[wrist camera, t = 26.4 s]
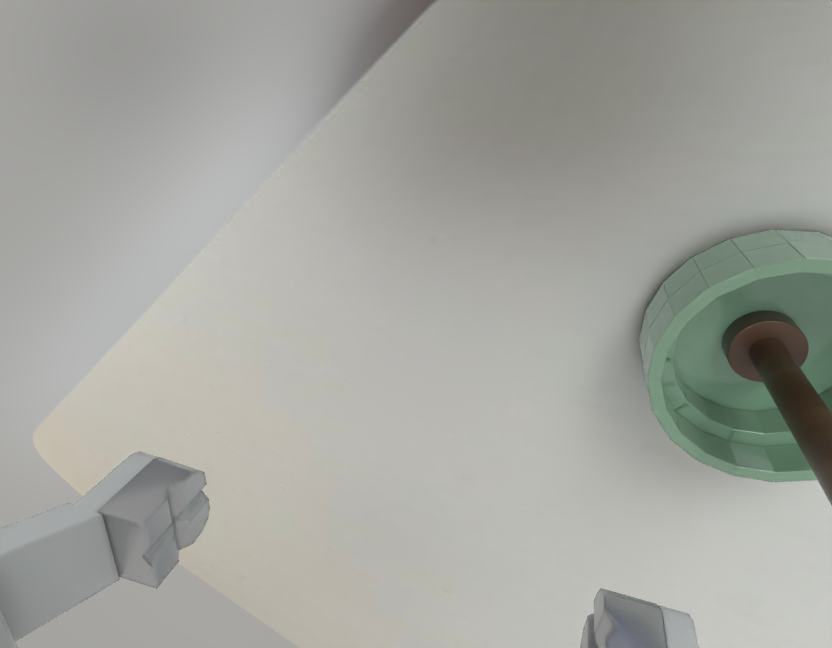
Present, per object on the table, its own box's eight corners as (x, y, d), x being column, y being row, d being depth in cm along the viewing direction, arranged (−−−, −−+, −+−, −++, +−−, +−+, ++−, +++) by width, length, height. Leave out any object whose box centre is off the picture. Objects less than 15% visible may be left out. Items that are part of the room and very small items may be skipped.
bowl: (661, 219, 34) (675, 248, 29) (937, 234, 30) (1011, 271, 25) (623, 407, 40) (629, 459, 35) (846, 439, 37) (890, 501, 31)
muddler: (731, 306, 34) (838, 486, 20) (809, 313, 33) (982, 510, 19) (714, 365, 36) (801, 567, 22) (788, 373, 35) (929, 592, 21)
